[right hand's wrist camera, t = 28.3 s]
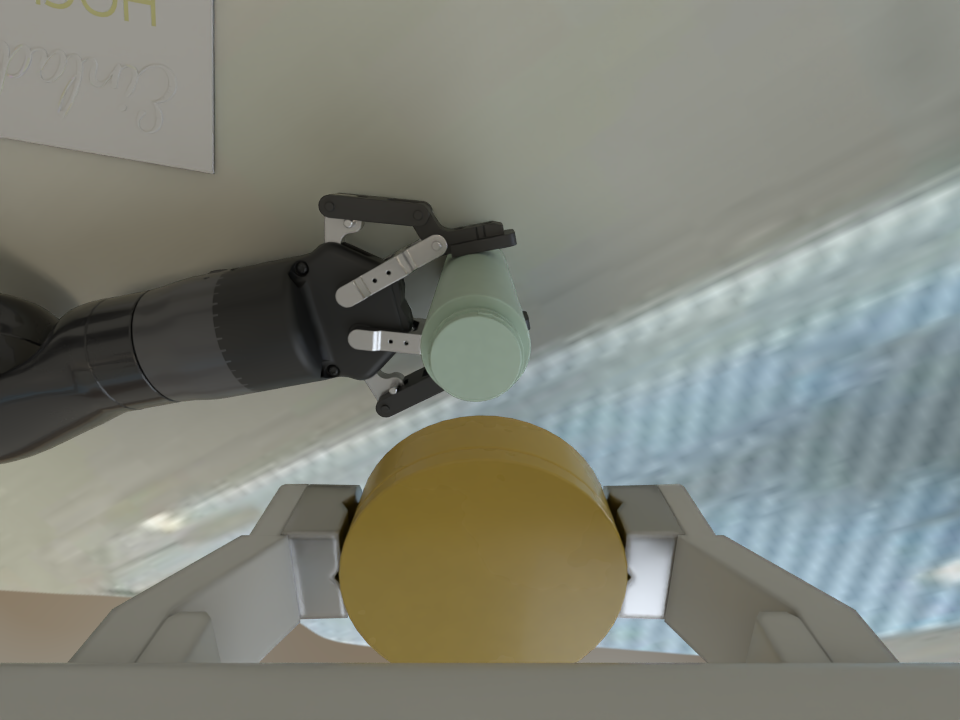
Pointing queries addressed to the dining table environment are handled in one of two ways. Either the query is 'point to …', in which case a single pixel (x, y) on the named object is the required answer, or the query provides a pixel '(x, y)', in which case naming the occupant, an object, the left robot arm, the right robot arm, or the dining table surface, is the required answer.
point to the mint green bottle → (475, 329)
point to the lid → (483, 548)
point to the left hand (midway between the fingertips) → (520, 279)
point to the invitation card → (110, 78)
